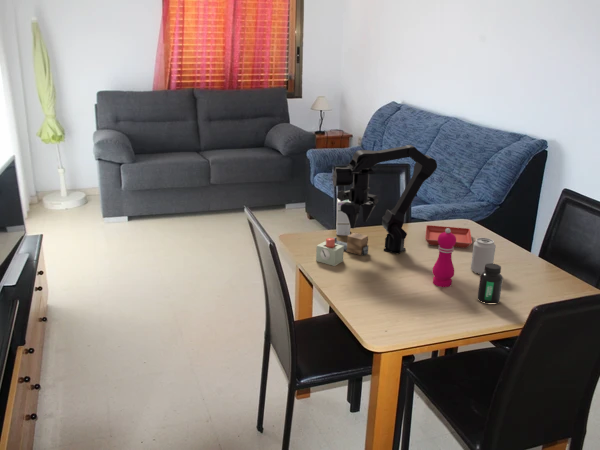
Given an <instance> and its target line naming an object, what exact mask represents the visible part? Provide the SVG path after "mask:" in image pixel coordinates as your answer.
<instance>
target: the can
mask: <svg viewBox="0 0 600 450" xmlns="http://www.w3.org/2000/svg"><path fill="white" fill-rule="evenodd" d="M472 247H473V248H472V254H471V262H470V270H472V272H473V271H474V272H473V273H475V272H476V273H475V274H477V273H479V274H478V275H481V274H482V273H483V272H484V269H485V265H486V264H488V263H493V264H494V260H495V256H496V255H495V253H496V244H495V241H494V239H492V238H489V237H477V238H476V239H475V241H474V242H473V246H472Z"/></svg>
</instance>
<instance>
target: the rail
mask: <svg viewBox="0 0 600 450" xmlns="http://www.w3.org/2000/svg"><path fill="white" fill-rule="evenodd" d="M333 238H334V239H335V244H339V245H342V246H344V252H347V242H345V241H341V240H338V239H337V236H334V237H333ZM367 254H369V245H368V244H367V245H366V246H364V247H363V250H362V255H361V256H364V257H365V256H366V255H367Z"/></svg>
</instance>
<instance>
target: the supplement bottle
mask: <svg viewBox="0 0 600 450" xmlns="http://www.w3.org/2000/svg"><path fill="white" fill-rule="evenodd" d="M501 270H502V266H501V265H499V264H497V263H494V262H493V263H488V264H486V265H485V269H484V272H483V273H482V274H480V277H479V282H478V283H479V284H478V290H477V291H478V292H477V300H478V299H479V300H480V301H482V302H485V303H498V302H499V303H500V300H501V294H502V287H503V283H504V282H503V280H504V277H503V275H502V274H501V272H502V271H501ZM479 300H478V301H479ZM480 301H479V302H480ZM482 302H481V303H482ZM499 303H498V304H499Z"/></svg>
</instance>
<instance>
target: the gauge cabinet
mask: <svg viewBox="0 0 600 450" xmlns="http://www.w3.org/2000/svg"><path fill="white" fill-rule="evenodd" d="M344 252H345V250H344V246H342V245H339V244H335V247H334V248H328V247H326V240H325V241H323V242H321V243H319V244H317V245H316V253H315V257H316V258H315V260H316V262H319V263H323V264H327V265H329V266H333V267H335V266H337V265H339V264H340V263H342V262H343V261H344Z"/></svg>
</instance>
